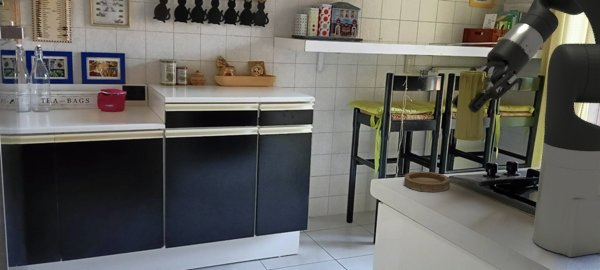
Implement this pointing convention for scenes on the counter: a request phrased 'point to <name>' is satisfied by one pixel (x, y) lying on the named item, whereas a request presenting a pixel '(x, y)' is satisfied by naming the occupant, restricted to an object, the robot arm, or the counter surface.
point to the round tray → (426, 181)
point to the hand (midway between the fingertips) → (463, 107)
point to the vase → (466, 120)
